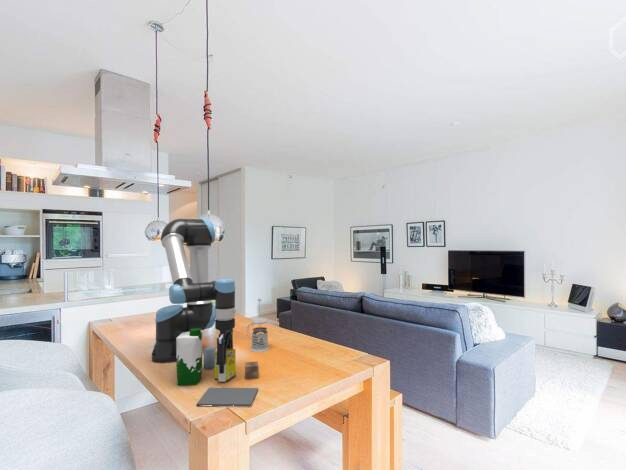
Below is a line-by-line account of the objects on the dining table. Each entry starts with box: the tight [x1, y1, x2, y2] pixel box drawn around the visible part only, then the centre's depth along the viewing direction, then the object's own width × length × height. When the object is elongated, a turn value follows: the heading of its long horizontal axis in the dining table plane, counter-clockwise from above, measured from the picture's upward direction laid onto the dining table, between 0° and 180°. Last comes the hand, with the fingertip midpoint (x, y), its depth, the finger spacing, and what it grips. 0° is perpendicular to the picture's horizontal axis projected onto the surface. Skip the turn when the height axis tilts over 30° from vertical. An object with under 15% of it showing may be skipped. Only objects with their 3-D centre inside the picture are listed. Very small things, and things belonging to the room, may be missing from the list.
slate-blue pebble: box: [202, 346, 217, 371], centre depth 142 cm, size 5×5×8 cm
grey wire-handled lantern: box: [246, 298, 270, 353], centre depth 167 cm, size 10×12×25 cm
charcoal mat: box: [196, 387, 259, 407], centre depth 115 cm, size 18×12×1 cm, turn 88°
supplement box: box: [214, 348, 237, 383], centre depth 131 cm, size 6×6×11 cm
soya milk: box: [176, 328, 203, 386], centre depth 128 cm, size 9×9×20 cm
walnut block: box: [244, 361, 259, 381], centre depth 133 cm, size 5×5×5 cm
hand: (225, 376), depth 131 cm, fingers closed on supplement box, 7 cm apart
